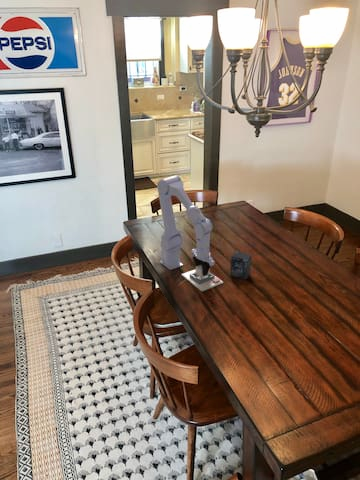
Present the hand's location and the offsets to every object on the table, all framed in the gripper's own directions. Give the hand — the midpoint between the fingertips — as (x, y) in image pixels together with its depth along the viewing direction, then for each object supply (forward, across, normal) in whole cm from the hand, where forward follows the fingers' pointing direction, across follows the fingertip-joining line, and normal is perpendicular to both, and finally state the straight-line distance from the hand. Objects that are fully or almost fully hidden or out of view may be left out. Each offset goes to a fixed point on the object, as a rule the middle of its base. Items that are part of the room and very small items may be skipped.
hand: (202, 272), depth 168 cm
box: (+4, -7, -17) cm, 19 cm away
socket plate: (+3, 0, 0) cm, 3 cm away
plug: (+2, 0, 0) cm, 2 cm away
